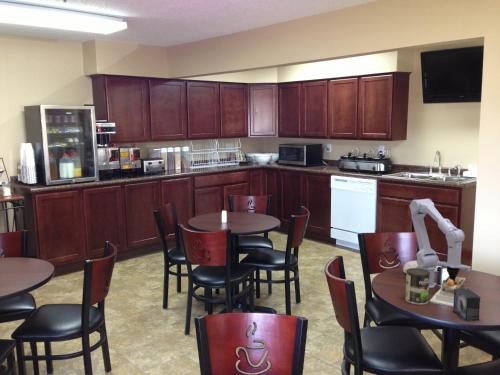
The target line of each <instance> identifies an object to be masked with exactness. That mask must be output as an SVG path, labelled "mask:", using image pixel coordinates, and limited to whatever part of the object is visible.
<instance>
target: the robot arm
mask: <svg viewBox="0 0 500 375" xmlns="http://www.w3.org/2000/svg"><path fill="white" fill-rule="evenodd" d="M434 203H435V202H433V201H432V199H431V198H423V199H413V200H412V201H410V204H409V209H410V214H411V220H412V225H413V228H414V232H415V233H414V234H415V238H416V241H417V244H418V249H419V251H418V252H417V253H416V261H417V265H418V266H416V268H419V269H424V270H427V271H429V272H430V278H429V289H434V287H435V286H436V285H437V282H435V275H436V272H435V268H436V266H441V267H444V268H446V272H447V274H448V277H450V279H452V280H453V281H454V283H455V279H456V277H458V276H457V275H458V274H459V272H460V271H461V270H462V271H467V272H470V271H471V270H472V267H471V266H470V265H466V264H463V263H461V261H462V247H463V246H462V243H463V242H464V241H465V239H466V234H465V232H464V231H463V230H462V229H459V228H457V227H456V226H455V225H454V224H453V223H452V222H451V220H450V219H448V218H444V217H443V216H442V215H441V213H440V212H439V211H438V210H437V208H436V207H435V204H434ZM427 214H428V215H429V216H430V217H431V218H432V219H433V220H434V221H435V222H436V223H437V227H438V229H440V231H441V232H442V233H443V234H444V235H445V239H446V242H447V243H446V244H447V261H442V260H441V261H440V260H439V256H438V255H437V252H436V251H435V250H434V249H433V248H431V243H430V238H429V236H428V232H427V228H426V225H425V221H424V218H425V217H426V215H427Z"/></svg>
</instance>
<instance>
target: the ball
mask: <svg viewBox="0 0 500 375" xmlns="http://www.w3.org/2000/svg"><path fill="white" fill-rule="evenodd" d="M447 283H448V285H449V286H453V285H454V281H453V280H452V279H449V280H448V281H447Z"/></svg>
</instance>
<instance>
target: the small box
mask: <svg viewBox="0 0 500 375" xmlns="http://www.w3.org/2000/svg"><path fill="white" fill-rule="evenodd" d="M480 303H481V296H479V294H477V293H475V292H474V291H472V290H470V289H469V288H467V287H465V288H460V289H454V304H453V307H452V308H453V310H452V311H453V312H454V313H455V314H457V315H458V316H459V317H460V318H461V319H462V320H464V321H465V322H467V321H468V322H469V321H473V322H474V321H479V320H480V307H481V306H480V305H481V304H480Z"/></svg>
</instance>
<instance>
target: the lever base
mask: <svg viewBox="0 0 500 375" xmlns="http://www.w3.org/2000/svg"><path fill="white" fill-rule="evenodd" d="M445 280H446V279H443V280H442V283H443V282H444V281H445ZM462 288H466V283H464V284H462ZM459 289H460V288H459ZM440 290H441V291H442V292H447V293H451V294H454V290H452V289H447V288H442V286H440V288H439V289H438V290H437V291H436V292H435V294H434V295H433V296H432V297H431V298H430V300H429V303H430V304H436V305H440V306H444V307H445V306H446V307H448V308H453V304H454V303H450V302H445V301H441V300H436V294H437V293H438V292H439V291H440Z"/></svg>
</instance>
